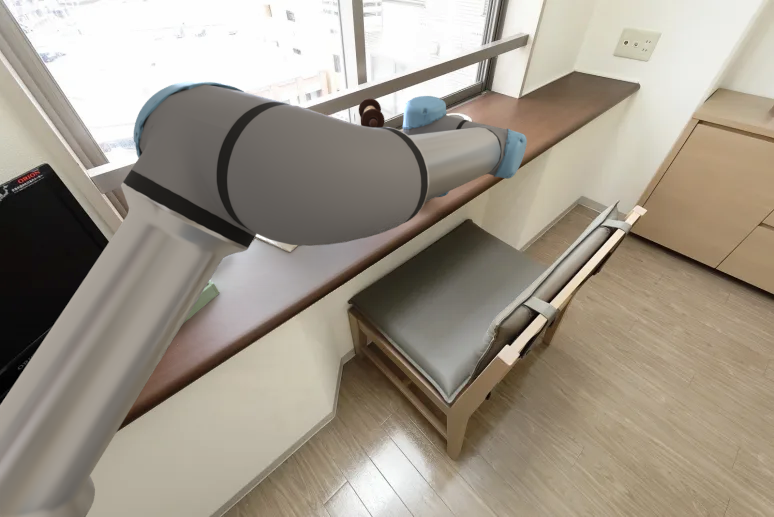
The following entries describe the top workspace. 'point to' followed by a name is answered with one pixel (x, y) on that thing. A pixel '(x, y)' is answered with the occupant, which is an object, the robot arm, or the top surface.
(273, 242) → the placemat
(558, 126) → the top surface
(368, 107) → the wooden spool stand
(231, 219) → the robot arm
